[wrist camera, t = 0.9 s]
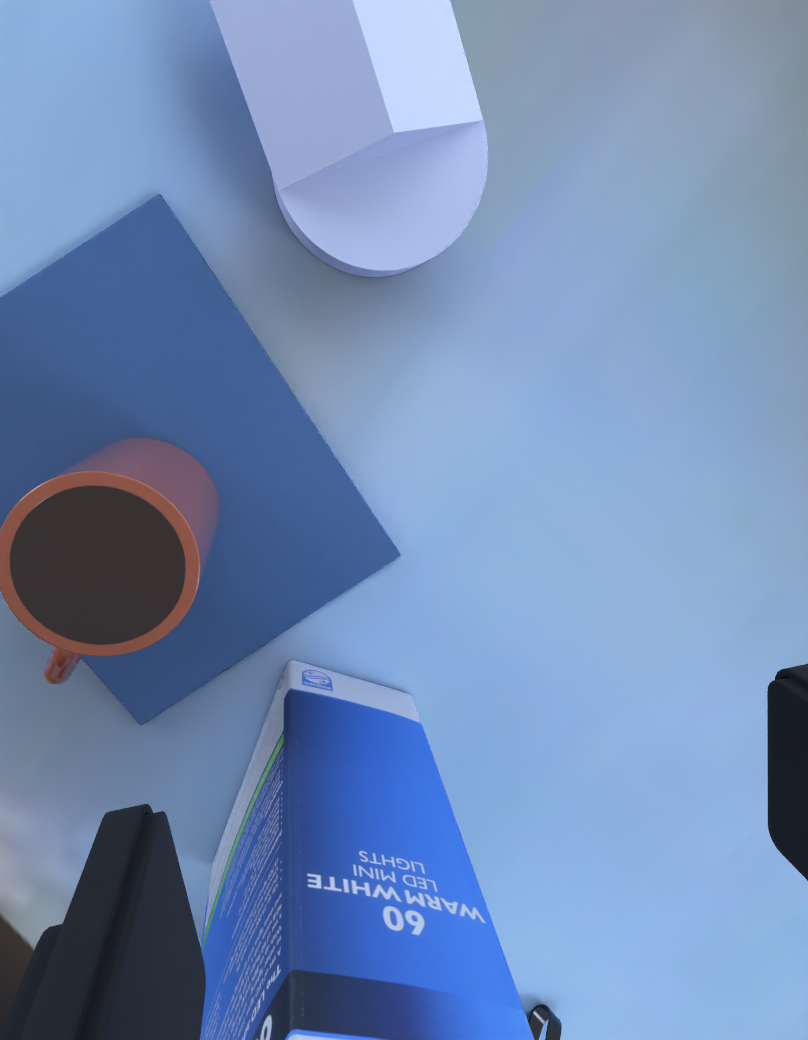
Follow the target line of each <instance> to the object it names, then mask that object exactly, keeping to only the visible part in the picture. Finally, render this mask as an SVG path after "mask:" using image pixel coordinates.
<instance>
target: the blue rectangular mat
mask: <svg viewBox="0 0 808 1040" xmlns="http://www.w3.org/2000/svg"><path fill="white" fill-rule="evenodd" d="M128 438H151V439H157V440H161V441H165V442H168V443H170V444H173V445H175V446H177V447H179V448H181V449H183V450H184V451H186V452H187V453H189V454H190V455H191V456H193V457H194V458H195V459H196V460H197V461H198V462H199V463H200V464H201V465H202V466H203V468H204V469H205V470H206V471H207V473H208V474H209V476H210V478H211V479H212V481H213V484H214V486H215V488H216V491H217V494H218V499H219V504H220V519H219V526H218V530H217V533H216V536H215V539H214V542H213V545H212V548H211V551H210V554H209V557H208V560H207V563H206V566H205V569H204V572H203V575H202V578H201V581H200V584H199V587H198V590H197V593H196V596H195V598H194V601H193V603H192V605H191V607H190V609H189V610H188V612H187V614H186V615H185V617H184V618H183V619H182V620H181V622H180V623H179V624H178V625H177V626H176V627H175V628H174V629H173V630H172V631H171V632H170V633H169V634H167V635H166V636H165V637H163V638H162V639H161V640H159V641H157V642H156V643H154V644H152V645H150V646H148V647H146V648H143V649H141V650H138V651H135V652H131V653H128V654H123V655H117V656H102V657H99V656H86V655H83V656H82V657H81V658H82V659H83V660H84V661H85V662H86V663H87V665H88V666H89V667H90V668H91V669H92V670H93V671H94V673H95V674H96V675H97V676H98V677H99V678H100V679H101V681H102V682H103V683H104V684H105V685H106V686H107V687H108V689H109V690H110V691H111V692H112V693H113V694H114V695H115V697H116V698H117V699H118V700H119V701H120V702H121V703H122V705H123V706H124V707H125V708H126V709H127V710H128V712H129V713H130V714H131V715H132V716H133V717H134V718H135V720H136V721H137V722H138V723H139V724H140V725H142V724H144V723H145V722H147V721H148V720H150V719H151V718H153V717H154V716H156V715H157V714H159V713H160V712H162V711H164V710H165V709H167V708H168V707H170V706H171V705H173V704H174V703H176V702H177V701H179V700H180V699H182V698H183V697H185V696H186V695H188V694H189V693H191V692H193V691H194V690H196V689H197V688H199V687H200V686H202V685H203V684H205V683H206V682H208V681H209V680H211V679H212V678H214V677H215V676H217V675H218V674H220V673H222V672H223V671H225V670H226V669H228V668H229V667H231V666H232V665H234V664H235V663H237V662H238V661H240V660H241V659H243V658H244V657H246V656H247V655H249V654H251V653H252V652H254V651H255V650H257V649H258V648H260V647H261V646H263V645H264V644H266V643H267V642H269V641H270V640H272V639H273V638H275V637H276V636H278V635H280V634H281V633H283V632H284V631H286V630H287V629H289V628H290V627H292V626H293V625H295V624H296V623H298V622H299V621H301V620H302V619H304V618H306V617H307V616H309V615H310V614H312V613H313V612H315V611H316V610H318V609H319V608H321V607H322V606H324V605H325V604H327V603H328V602H330V601H331V600H333V599H335V598H336V597H338V596H339V595H341V594H342V593H344V592H345V591H347V590H348V589H350V588H351V587H353V586H354V585H356V584H357V583H359V582H360V581H362V580H364V579H365V578H367V577H368V576H370V575H371V574H373V573H374V572H376V571H377V570H379V569H380V568H382V567H383V566H385V565H386V564H388V563H389V562H391V561H393V560H394V559H396V558H397V557H399V556H400V553H399V552H398V550H397V549H396V547H395V546H394V544H393V543H392V541H391V540H390V538H389V537H388V535H387V534H386V532H385V531H384V529H383V528H382V526H381V525H380V523H379V522H378V520H377V519H376V517H375V516H374V514H373V513H372V511H371V510H370V508H369V507H368V505H367V504H366V502H365V501H364V499H363V498H362V496H361V495H360V493H359V492H358V490H357V489H356V487H355V486H354V484H353V483H352V481H351V480H350V478H349V476H348V475H347V473H346V472H345V470H344V469H343V467H342V466H341V464H340V463H339V461H338V460H337V458H336V457H335V455H334V454H333V452H332V451H331V449H330V448H329V446H328V445H327V443H326V442H325V440H324V439H323V437H322V436H321V434H320V433H319V431H318V430H317V428H316V427H315V425H314V424H313V422H312V421H311V419H310V418H309V416H308V415H307V413H306V412H305V410H304V409H303V407H302V406H301V404H300V403H299V401H298V400H297V398H296V397H295V395H294V394H293V392H292V391H291V389H290V388H289V386H288V385H287V383H286V382H285V380H284V379H283V377H282V376H281V374H280V373H279V371H278V370H277V368H276V367H275V365H274V364H273V362H272V361H271V359H270V358H269V356H268V355H267V353H266V352H265V350H264V349H263V347H262V346H261V344H260V343H259V341H258V340H257V338H256V337H255V335H254V334H253V332H252V331H251V329H250V328H249V326H248V325H247V323H246V322H245V320H244V319H243V317H242V316H241V314H240V313H239V311H238V310H237V308H236V307H235V305H234V304H233V302H232V301H231V299H230V298H229V296H228V295H227V293H226V292H225V290H224V289H223V287H222V286H221V284H220V283H219V281H218V280H217V278H216V277H215V275H214V274H213V272H212V271H211V269H210V268H209V266H208V265H207V263H206V262H205V260H204V259H203V257H202V256H201V254H200V253H199V251H198V250H197V248H196V247H195V245H194V244H193V242H192V241H191V239H190V238H189V236H188V235H187V233H186V232H185V230H184V229H183V227H182V226H181V224H180V223H179V221H178V220H177V218H176V217H175V215H174V214H173V212H172V211H171V209H170V208H169V206H168V205H167V203H166V202H165V200H164V199H163V197H162V196H161V195H160V194H159V195H157V196H156V197H154V198H153V199H151V200H149V201H148V202H146V203H145V204H143V205H142V206H140V207H139V208H137V209H136V210H134V211H133V212H131V213H130V214H128V215H126V216H125V217H123V218H122V219H120V220H119V221H117V222H116V223H114V224H113V225H111V226H110V227H108V228H106V229H105V230H103V231H102V232H100V233H99V234H97V235H96V236H94V237H93V238H91V239H90V240H88V241H87V242H85V243H83V244H82V245H80V246H79V247H77V248H76V249H74V250H73V251H71V252H70V253H68V254H67V255H65V256H64V257H62V258H60V259H59V260H57V261H56V262H54V263H53V264H51V265H50V266H48V267H47V268H45V269H44V270H42V271H40V272H39V273H37V274H36V275H34V276H33V277H31V278H30V279H28V280H27V281H25V282H24V283H22V284H21V285H19V286H17V287H16V288H14V289H13V290H11V291H10V292H8V293H7V294H5V295H4V296H2V297H1V298H0V530H1V527H2V525H3V523H4V521H5V519H6V517H7V516H8V514H9V513H10V511H11V510H12V509H13V507H14V506H15V505H16V504H17V503H18V502H19V501H20V500H21V499H22V498H23V497H24V496H25V495H26V494H27V493H29V492H30V491H31V490H32V489H34V488H35V487H37V486H38V485H40V484H42V483H43V482H45V481H47V480H48V479H50V478H52V477H53V476H55V475H57V474H58V473H60V472H62V471H63V470H65V469H67V468H68V467H70V466H72V465H73V464H75V463H77V462H78V461H80V460H81V459H83V458H85V457H86V456H88V455H90V454H91V453H93V452H95V451H96V450H98V449H100V448H102V447H103V446H105V445H107V444H110V443H112V442H115V441H119V440H123V439H128Z"/></svg>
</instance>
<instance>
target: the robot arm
mask: <svg viewBox="0 0 808 1040" xmlns="http://www.w3.org/2000/svg"><path fill="white" fill-rule="evenodd" d="M768 829H769V833H770V836H771V838H772V841H773V843H774V844H775V846H776V848H777V849H778V850H779V851H780V852H781V854H782V855H783V856H784V857H785V858H786V859H787V860H788V861H789V862H790V863H791V864H792V865H793V866H794V867H795V868H796V869H797V870H798V871H799V872H800V873H801V874H802V875H803V876H804V877H805V878H806V879H807V880H808V664H805V665H800V666H796V667H791V668H786V669H781V670H780V671H779V672H777V675H776V677H775V681H772V682H771V683H770V684H769V686H768ZM205 992H206V973H205V965H204V960H203V956H202V952H201V948H200V944H199V940H198V936H197V932H196V928H195V924H194V920H193V917H192V913H191V909H190V905H189V901H188V897H187V893H186V889H185V885H184V881H183V877H182V873H181V869H180V866H179V862H178V858H177V854H176V850H175V846H174V842H173V838H172V834H171V830H170V826H169V822H168V819H167V816H166V814H165V812H163V811H161V812H157V813H153V811H152V809H151V807H150V806H149V805H148V804H143V805H139V806H134V807H129V808H125V809H120V810H115V811H110V812H107V813H105V815H104V817H103V819H102V822H101V824H100V827H99V830H98V832H97V835H96V837H95V840H94V843H93V845H92V848H91V851H90V853H89V856H88V859H87V861H86V864H85V867H84V869H83V872H82V875H81V877H80V880H79V883H78V885H77V888H76V890H75V893H74V896H73V898H72V901H71V904H70V906H69V909H68V912H67V914H66V917H65V920H64V922H63V924H60V925H56V926H52V927H49V928H48V929H46V930H45V931H44V932H43V934H42V936H41V937H40V939H39V941H38V943H37V946H36V948H35V950H34V953H33V955H32V958H31V960H30V963H29V965H28V968H27V970H26V973H25V975H24V978H23V980H22V983H21V985H20V987H19V990H18V992H17V995H16V997H15V1000H14V1002H13V1004H12V1007H11V1010H10V1012H9V1014H8V1017H7V1019H6V1022H5V1024H4V1027H3V1029H2V1032H1V1034H0V1040H200V1035H201V1026H202V1018H203V1010H204V1001H205Z"/></svg>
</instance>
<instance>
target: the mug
mask: <svg viewBox="0 0 808 1040" xmlns="http://www.w3.org/2000/svg"><path fill="white" fill-rule="evenodd" d="M219 519H220V504H219V499H218V494H217V491H216V488H215V486H214V484H213V481H212V479H211V478H210V476H209V474H208V473H207V471H206V470H205V469H204V468H203V466H202V465H201V464H200V463H199V462H198V461H197V460H196V459H195V458H194V457H193V456H191V455H190V454H189V453H187V452H186V451H184V450H183V449H181V448H179V447H177V446H175V445H173V444H170V443H168V442H165V441H161V440H157V439H151V438H128V439H123V440H119V441H115V442H112V443H110V444H107V445H105V446H103V447H102V448H100V449H98V450H96V451H95V452H93V453H91V454H90V455H88V456H86V457H85V458H83V459H81V460H80V461H78V462H77V463H75V464H73V465H72V466H70V467H68V468H67V469H65V470H63V471H62V472H60V473H58V474H57V475H55V476H53V477H52V478H50V479H48V480H47V481H45V482H43V483H42V484H40V485H38V486H37V487H35V488H34V489H32V490H31V491H30V492H29V493H27V494H26V495H25V496H24V497H23V498H22V499H21V500H20V501H19V502H18V503H17V504H16V505H15V506H14V507H13V509H12V510H11V511H10V513H9V514H8V516H7V517H6V519H5V521H4V523H3V525H2V527H1V530H0V590H1V592H2V594H3V597H4V599H5V601H6V603H7V604H8V606H9V608H10V609H11V611H12V612H13V613H14V615H15V616H16V617H17V618H18V620H19V621H20V622H21V623H22V624H23V625H24V626H25V627H26V628H27V629H28V630H30V631H31V632H32V633H34V634H35V635H36V636H37V637H39V638H41V639H42V640H44V641H46V642H47V643H49V644H51V645H53V646H55V647H54V649H53V651H52V653H51V655H50V658H49V660H48V662H47V664H46V666H45V669H44V677H45V679H46V680H47V681H48V682H49V683H51V684H61V683H63V682H65V681H66V680H67V679H68V678H69V676H70V675H71V673H72V672H73V670H74V668H75V667H76V665H77V664H78V662H79V661H80V659H81V657H82V656H83V655H86V656H99V657H102V656H117V655H123V654H128V653H131V652H135V651H138V650H141V649H143V648H146V647H148V646H150V645H152V644H154V643H156V642H157V641H159V640H161V639H162V638H163V637H165V636H166V635H167V634H169V633H170V632H171V631H172V630H173V629H174V628H175V627H176V626H177V625H178V624H179V623H180V622H181V620H182V619H183V618H184V617H185V615H186V614H187V612H188V610H189V609H190V607H191V605H192V603H193V601H194V598H195V596H196V593H197V590H198V587H199V584H200V581H201V578H202V575H203V572H204V569H205V566H206V563H207V560H208V557H209V554H210V551H211V548H212V545H213V542H214V539H215V536H216V533H217V530H218V526H219Z"/></svg>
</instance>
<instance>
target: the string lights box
mask: <svg viewBox="0 0 808 1040" xmlns="http://www.w3.org/2000/svg"><path fill="white" fill-rule="evenodd" d="M201 952H202V956H203V960H204V965H205V973H206V992H205V1001H204V1010H203V1018H202V1026H201V1035H200V1040H534V1037H533V1034H532V1031H531V1029H530V1026H529V1023H528V1020H527V1017H526V1015H525V1012H524V1009H523V1006H522V1004H521V1001H520V998H519V995H518V992H517V990H516V987H515V984H514V981H513V978H512V976H511V973H510V970H509V967H508V965H507V962H506V959H505V956H504V953H503V951H502V948H501V945H500V942H499V939H498V937H497V934H496V931H495V928H494V926H493V923H492V920H491V917H490V914H489V912H488V909H487V906H486V903H485V900H484V898H483V895H482V892H481V889H480V887H479V884H478V881H477V878H476V875H475V873H474V870H473V867H472V864H471V861H470V859H469V856H468V853H467V850H466V847H465V845H464V842H463V839H462V836H461V833H460V831H459V828H458V825H457V822H456V819H455V817H454V814H453V811H452V808H451V805H450V803H449V800H448V797H447V794H446V791H445V789H444V786H443V783H442V780H441V777H440V774H439V772H438V769H437V766H436V763H435V760H434V757H433V755H432V752H431V749H430V746H429V744H428V741H427V738H426V735H425V732H424V730H423V727H422V724H421V721H420V718H419V715H418V712H417V709H416V707H415V704H414V701H413V698H412V696H411V695H410V694H407V693H404V692H401V691H398V690H395V689H391V688H388V687H384V686H381V685H378V684H374V683H371V682H367V681H364V680H360V679H357V678H354V677H350V676H347V675H343V674H340V673H337V672H333V671H330V670H326V669H323V668H320V667H316V666H313V665H309V664H306V663H303V662H299V661H295V660H291V661H289V662H288V663H287V665H286V667H285V669H284V672H283V674H282V677H281V680H280V682H279V685H278V688H277V690H276V693H275V696H274V699H273V701H272V704H271V707H270V709H269V712H268V715H267V717H266V720H265V723H264V725H263V728H262V731H261V733H260V736H259V739H258V742H257V744H256V747H255V750H254V753H253V755H252V758H251V761H250V763H249V766H248V769H247V772H246V774H245V777H244V780H243V783H242V785H241V788H240V791H239V793H238V796H237V798H236V801H235V804H234V806H233V809H232V812H231V814H230V817H229V819H228V822H227V825H226V828H225V830H224V833H223V836H222V838H221V841H220V844H219V846H218V849H217V852H216V854H215V857H214V860H213V862H212V868H211V877H210V884H209V891H208V897H207V905H206V912H205V920H204V927H203V935H202V943H201Z"/></svg>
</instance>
